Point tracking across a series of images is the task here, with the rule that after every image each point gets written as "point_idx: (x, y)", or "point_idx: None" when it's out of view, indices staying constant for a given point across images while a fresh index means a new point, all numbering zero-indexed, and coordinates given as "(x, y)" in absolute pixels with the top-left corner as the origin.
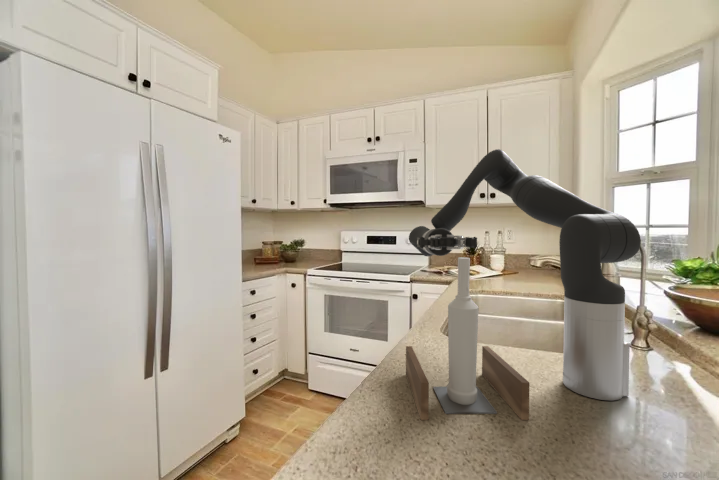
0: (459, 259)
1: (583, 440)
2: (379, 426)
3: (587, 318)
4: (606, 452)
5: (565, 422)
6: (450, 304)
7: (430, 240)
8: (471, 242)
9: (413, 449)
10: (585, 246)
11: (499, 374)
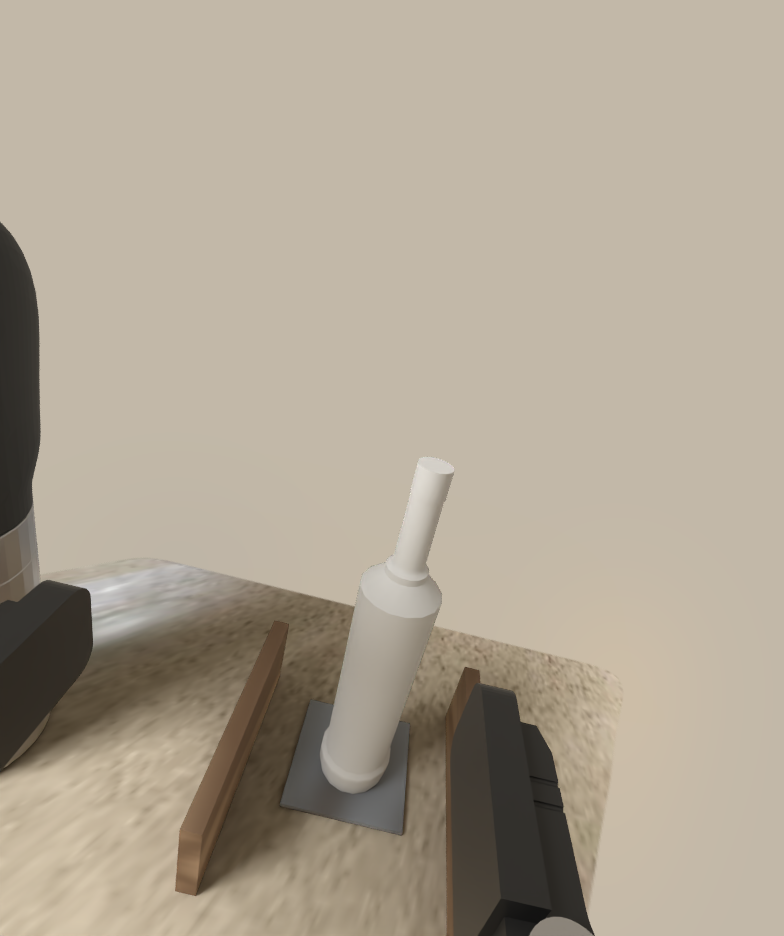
0: (451, 469)
1: (229, 620)
2: (530, 722)
3: (36, 539)
4: (226, 600)
5: (208, 653)
6: (438, 593)
7: (550, 774)
8: (89, 621)
9: (480, 667)
10: (33, 332)
11: (251, 728)
